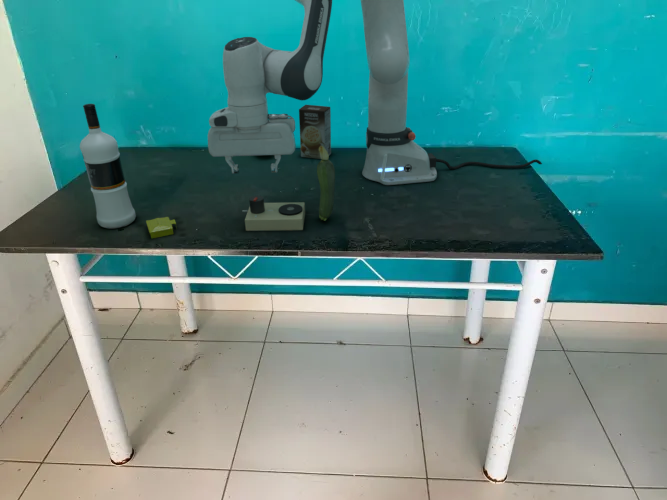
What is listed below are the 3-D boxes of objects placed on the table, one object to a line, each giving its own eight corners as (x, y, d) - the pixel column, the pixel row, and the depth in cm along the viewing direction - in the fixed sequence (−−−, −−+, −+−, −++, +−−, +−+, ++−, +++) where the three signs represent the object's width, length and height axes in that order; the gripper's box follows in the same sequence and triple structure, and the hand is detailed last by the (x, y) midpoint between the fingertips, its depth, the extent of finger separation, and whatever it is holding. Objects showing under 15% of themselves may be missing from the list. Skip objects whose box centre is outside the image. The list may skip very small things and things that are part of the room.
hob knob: (252, 207, 133) (251, 194, 131) (266, 208, 132) (265, 194, 131) (248, 213, 130) (247, 199, 128) (262, 214, 129) (261, 200, 127)
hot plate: (305, 212, 137) (304, 201, 135) (302, 230, 128) (302, 218, 126) (246, 213, 137) (245, 202, 135) (240, 230, 128) (238, 219, 127)
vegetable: (331, 215, 135) (329, 140, 125) (338, 222, 131) (337, 145, 121) (315, 219, 133) (312, 143, 123) (323, 226, 129) (320, 148, 120)
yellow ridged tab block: (140, 225, 132) (138, 215, 130) (177, 218, 135) (175, 208, 134) (145, 242, 124) (143, 231, 122) (184, 234, 127) (182, 224, 126)
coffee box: (299, 157, 175) (297, 109, 167) (306, 151, 180) (304, 104, 172) (325, 159, 172) (324, 110, 164) (332, 153, 177) (331, 106, 169)
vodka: (131, 228, 130) (103, 108, 116) (93, 231, 130) (60, 110, 115) (140, 213, 138) (114, 98, 124) (104, 215, 138) (74, 100, 123)
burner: (303, 205, 133) (303, 203, 133) (301, 215, 128) (301, 213, 128) (279, 205, 134) (279, 203, 133) (277, 215, 128) (277, 213, 128)
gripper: (295, 109, 122) (299, 166, 128) (207, 112, 122) (216, 168, 129) (293, 117, 116) (297, 175, 123) (201, 120, 116) (211, 178, 123)
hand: (255, 172), depth 126 cm, fingers open, 8 cm apart
